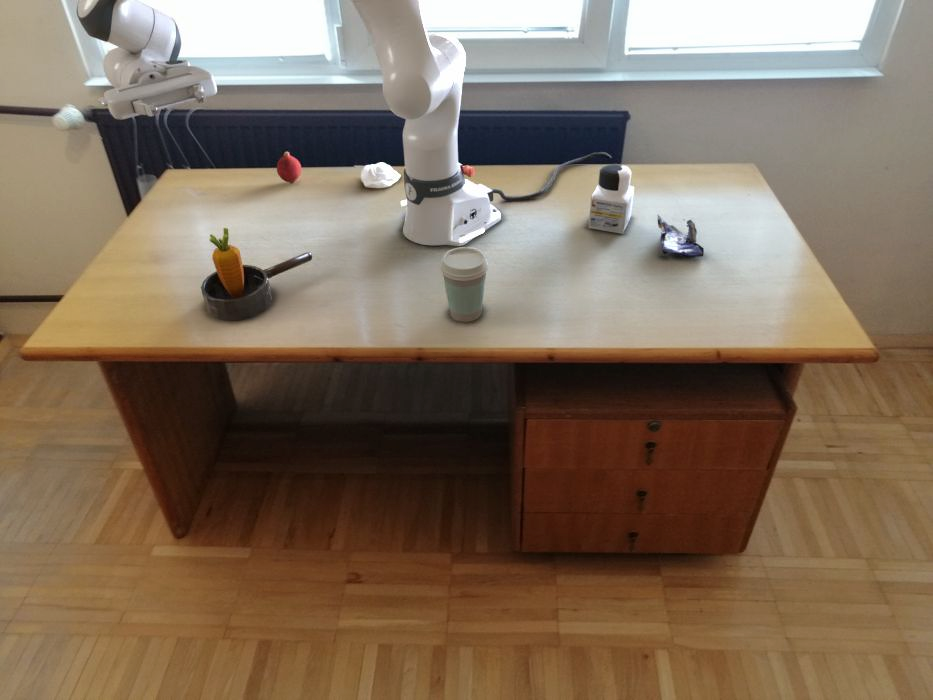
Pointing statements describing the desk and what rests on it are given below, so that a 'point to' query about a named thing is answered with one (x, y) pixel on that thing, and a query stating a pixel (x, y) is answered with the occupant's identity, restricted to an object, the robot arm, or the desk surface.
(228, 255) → the carrot
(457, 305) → the coffee cup
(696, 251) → the snack package
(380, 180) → the white lumpy piece
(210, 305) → the pan
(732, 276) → the desk surface
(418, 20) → the robot arm
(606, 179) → the container
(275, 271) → the pan handle
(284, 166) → the onion
